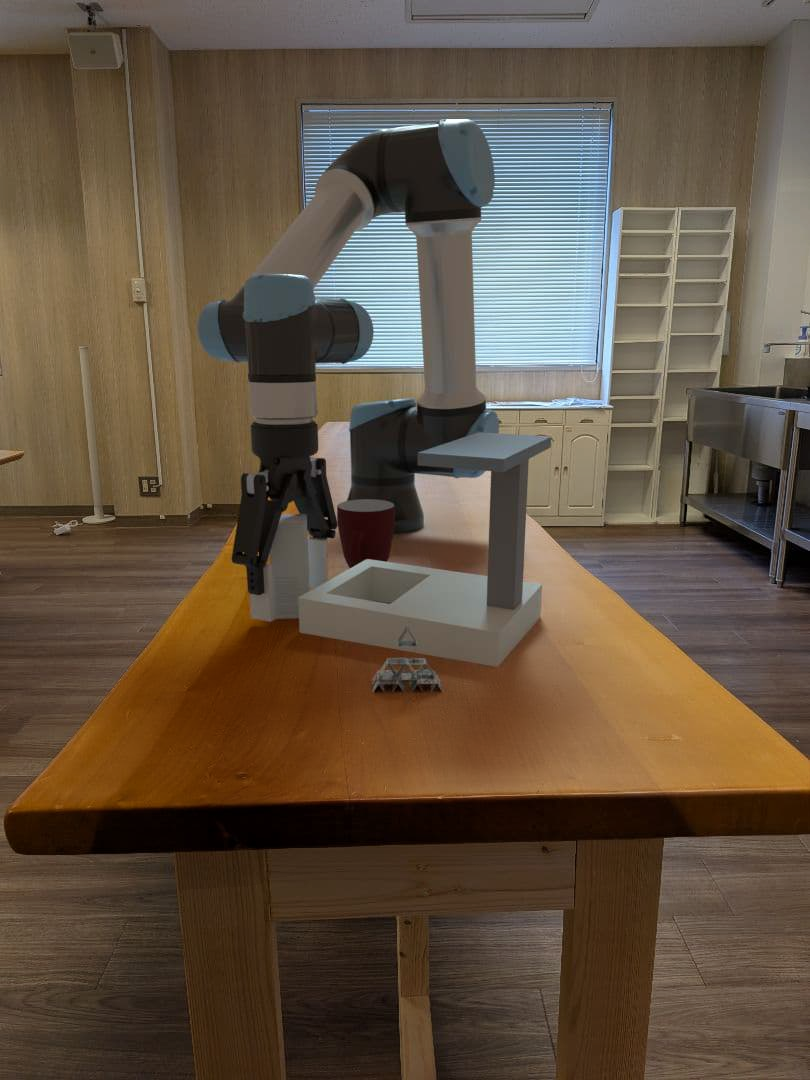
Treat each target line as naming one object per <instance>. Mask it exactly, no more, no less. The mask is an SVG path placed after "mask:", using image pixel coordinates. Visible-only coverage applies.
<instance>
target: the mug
mask: <svg viewBox="0 0 810 1080" xmlns="http://www.w3.org/2000/svg"><path fill="white" fill-rule="evenodd" d="M336 507H337V508H336V519H337V529H338V533H339V539H340V544H341V549H342V553H343V558H344V560H345V562H346V564H347V566H348V569H350V568H352V567H354V566H355V565H357V564H359V563H361V562H363V561H364V560H366V559H371V560H378V561H385V562H389V558H390V553H391V549H392V545H393V544H392V543H393V537H394V534H393V532H394V526H395V505H394V504H393V503H391V502H389V501H384V500H375V499H359V500H350V501H347V500H346V501H342V502H340V503H338V504H337V506H336Z"/></svg>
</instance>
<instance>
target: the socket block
mask: <svg viewBox="0 0 810 1080" xmlns="http://www.w3.org/2000/svg"><path fill="white" fill-rule="evenodd" d="M487 579H488V575H481V574H474V573H467V572H460V571H455V570H447V569H446V570H445V569H440V568H433V567H426V566H419V565H411V564H404V563H399V562H398V563H397V562H391V561H387V562H385V561H378V560H371V559H366V560H364V561H363V562H361V563H359V564H357V565H355V566H354V567H352V568H348V569H347V570H345V571H343V572H341V573H339V574H338V575H335V576H334V577H332V578H330V579H328V581H327V582H325V583H323V584H322V585H320V586H318V587H316V588H312V589H310V591H309V592H307V593H306V594H304V595H302V596H300V597H298V605H299V618H298V619H299V620H298V623H299V624H298V625H299V626H298V627H299V629H298V630H299V634H305V635H312V636H318V637H323V638H330V639H334V640H339V641H345V642H351V643H357V644H358V643H359V644H363V645H369V646H373V647H375V646H376V647H381V648H386V649H392V650H397V651H403V652H409V653H414V646H397V641H398V639H399V638H400V636H401V634H402V633H403V631H404V629H405V628H406V626H408V628H409V629H410V631H411V632H412V634H413V636H414V637H415V639H416V640H417V646H415V654H421V655H427V656H431V657H432V656H433V657H438V658H442V659H450V660H455V661H462V662H466V663H473V664H480V665H485V666H491V667H496V668H497V667H499V666H500V665H501V664H502V662H503V661H504V660H505V659H506V658H507V657H508V656H509V654H510V653H511V652H512V651H513V650H514V649H515V648H516V646H517V645H518V644H519V643H520V642H521V641H522V639H523V638H524V637H525V636H526V635H527V634H528V633H529V631H530V630H531V629H532V628H533V626H534V625H536V623H537V621H539V619H541V615H542V595H543V593H542V592H543V583H538V582H530V581H524V580H523V591H522V602H521V603H520V604H519V605H518V606H517V607H516V608H515V609H514V610H510V609H504V608H498V607H491V606H487ZM402 640H413V639H412V637H411V636H410V634H409V632H408V631H407V632H406V634H405V636H404V637H403V639H402Z"/></svg>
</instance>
